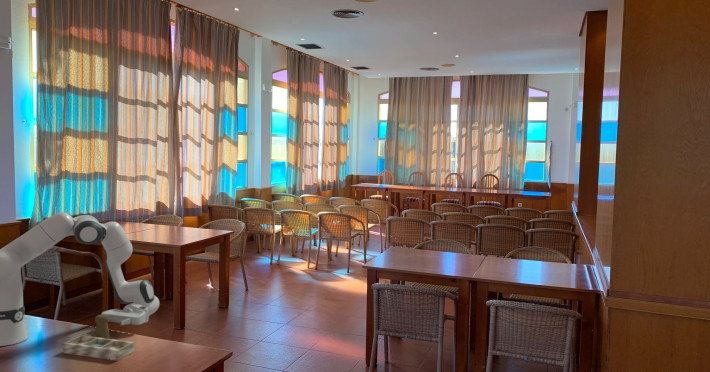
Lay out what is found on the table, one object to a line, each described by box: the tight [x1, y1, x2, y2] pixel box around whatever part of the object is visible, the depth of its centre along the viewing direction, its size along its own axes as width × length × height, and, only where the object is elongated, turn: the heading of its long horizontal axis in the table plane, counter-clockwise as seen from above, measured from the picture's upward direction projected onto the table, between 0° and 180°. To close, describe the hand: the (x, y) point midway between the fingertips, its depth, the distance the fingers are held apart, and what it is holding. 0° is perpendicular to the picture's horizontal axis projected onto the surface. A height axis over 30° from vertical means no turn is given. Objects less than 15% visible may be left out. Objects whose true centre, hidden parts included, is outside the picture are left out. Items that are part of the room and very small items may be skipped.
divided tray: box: [62, 335, 135, 361], centre depth 205 cm, size 26×9×4 cm, turn 75°
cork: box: [94, 313, 111, 339], centre depth 218 cm, size 6×6×11 cm
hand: (111, 322), depth 223 cm, fingers open, 8 cm apart
